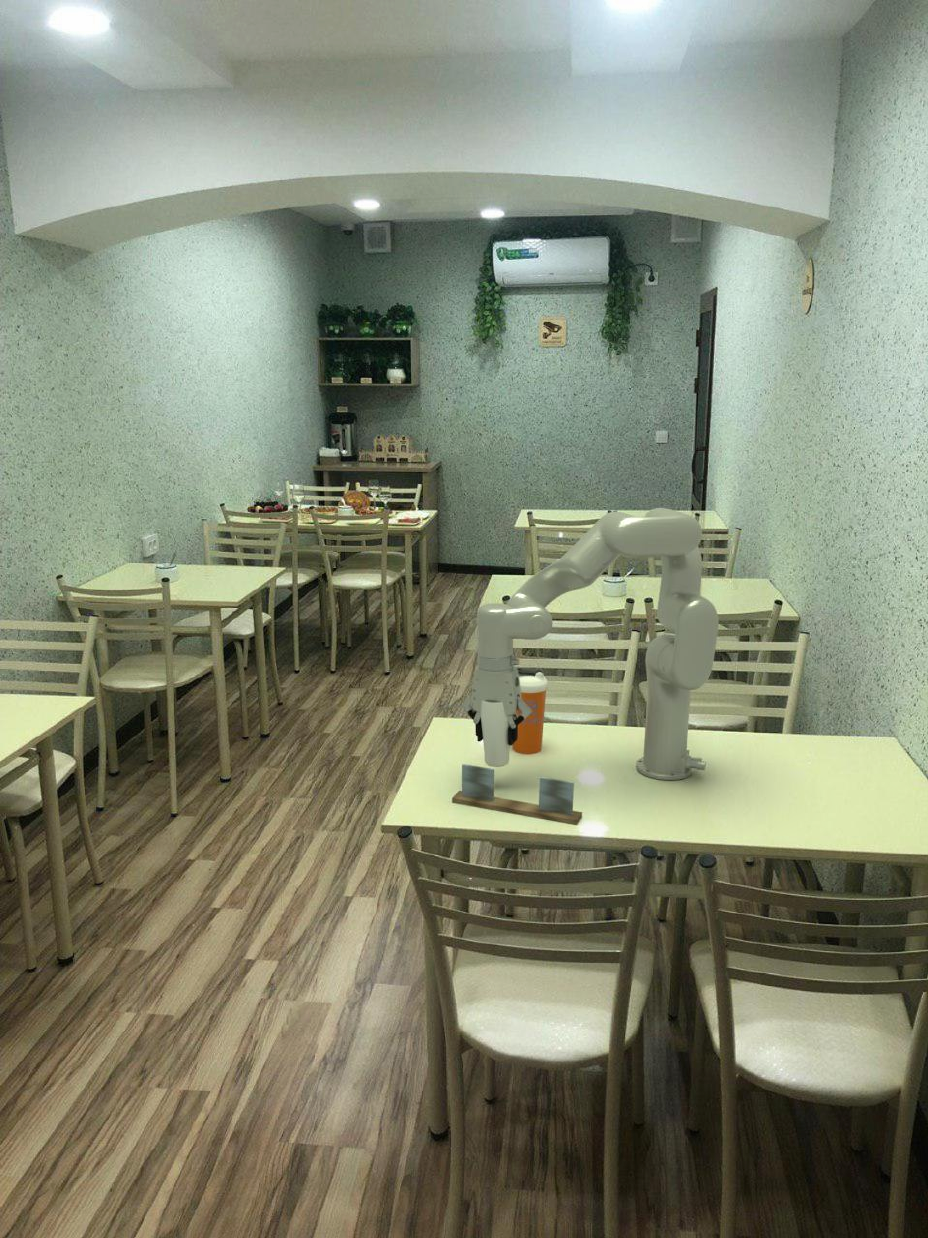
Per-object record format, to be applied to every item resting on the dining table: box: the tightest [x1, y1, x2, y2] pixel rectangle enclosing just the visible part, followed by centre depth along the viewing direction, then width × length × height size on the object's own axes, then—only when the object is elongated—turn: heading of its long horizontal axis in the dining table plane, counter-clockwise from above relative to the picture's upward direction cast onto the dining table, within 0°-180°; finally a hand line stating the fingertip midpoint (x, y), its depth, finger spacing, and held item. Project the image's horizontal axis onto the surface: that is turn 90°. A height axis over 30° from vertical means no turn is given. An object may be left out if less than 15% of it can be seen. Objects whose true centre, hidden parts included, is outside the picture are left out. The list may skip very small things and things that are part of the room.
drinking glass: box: [481, 700, 511, 768], centre depth 202 cm, size 7×7×15 cm
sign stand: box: [451, 763, 583, 826], centre depth 193 cm, size 27×4×8 cm, turn 68°
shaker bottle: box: [511, 667, 548, 755], centre depth 225 cm, size 9×9×20 cm
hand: (496, 740), depth 203 cm, fingers closed on drinking glass, 6 cm apart
